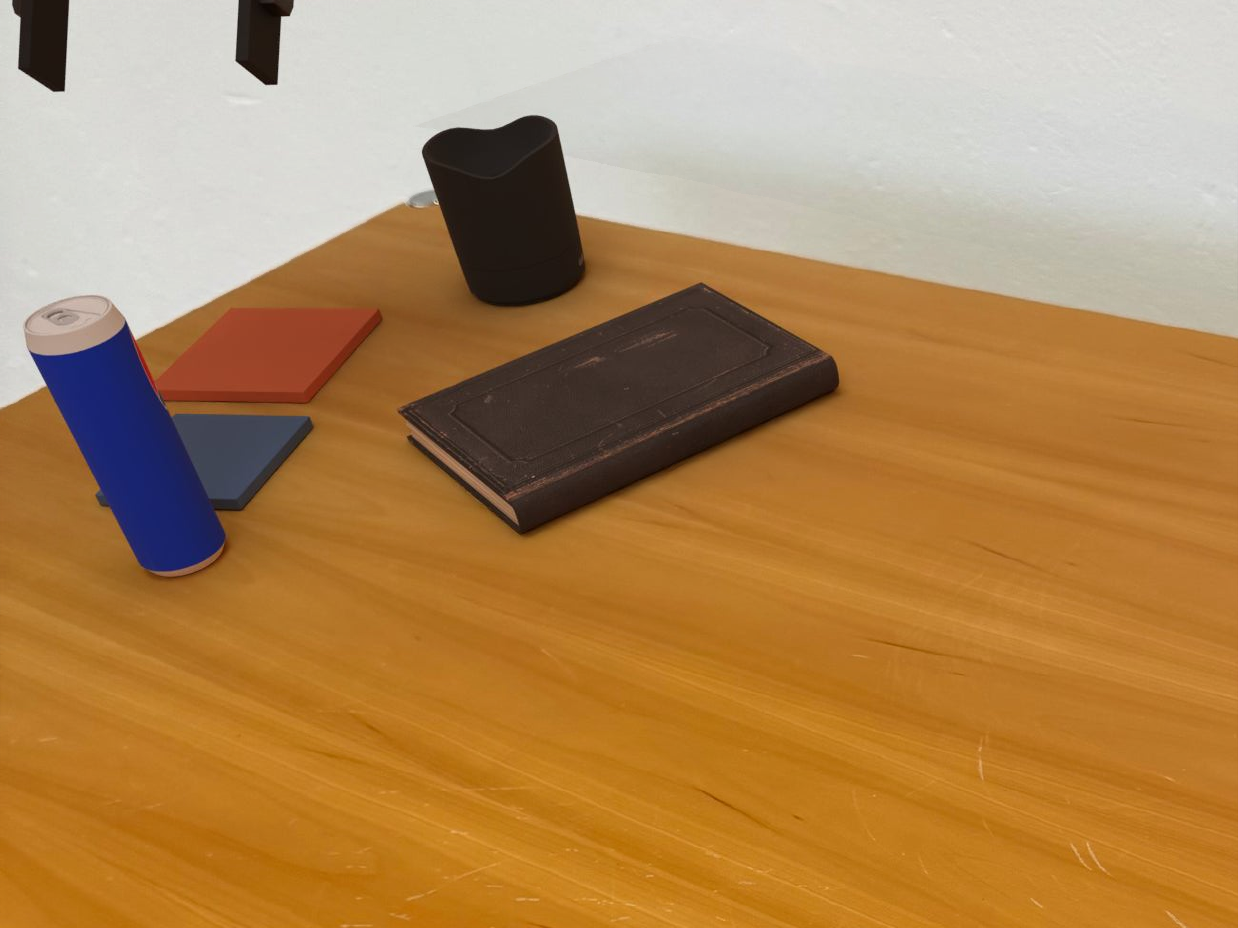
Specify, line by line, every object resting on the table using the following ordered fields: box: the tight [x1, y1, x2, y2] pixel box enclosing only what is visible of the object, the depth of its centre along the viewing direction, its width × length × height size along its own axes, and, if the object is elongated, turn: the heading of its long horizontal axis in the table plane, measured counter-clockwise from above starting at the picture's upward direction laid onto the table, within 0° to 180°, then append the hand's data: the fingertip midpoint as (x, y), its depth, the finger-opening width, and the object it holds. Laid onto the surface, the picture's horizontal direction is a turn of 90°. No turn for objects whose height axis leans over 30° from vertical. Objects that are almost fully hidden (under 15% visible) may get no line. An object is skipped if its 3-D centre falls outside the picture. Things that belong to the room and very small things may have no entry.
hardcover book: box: [396, 281, 840, 534], centre depth 103 cm, size 16×23×2 cm
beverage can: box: [22, 294, 227, 578], centre depth 91 cm, size 5×5×15 cm
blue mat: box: [94, 413, 314, 511], centre depth 104 cm, size 10×10×1 cm
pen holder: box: [421, 114, 586, 307], centre depth 115 cm, size 9×9×10 cm
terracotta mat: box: [154, 307, 383, 404], centre depth 114 cm, size 12×12×1 cm
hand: (147, 77), depth 90 cm, fingers open, 13 cm apart
